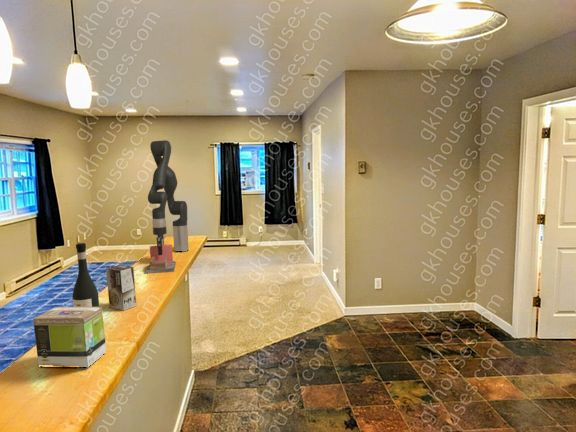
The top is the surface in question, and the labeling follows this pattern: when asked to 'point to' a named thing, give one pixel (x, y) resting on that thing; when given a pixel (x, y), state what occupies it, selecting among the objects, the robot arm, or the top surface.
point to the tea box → (70, 336)
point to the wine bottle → (84, 282)
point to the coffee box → (121, 287)
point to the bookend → (167, 263)
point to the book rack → (159, 267)
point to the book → (165, 252)
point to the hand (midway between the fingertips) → (161, 253)
